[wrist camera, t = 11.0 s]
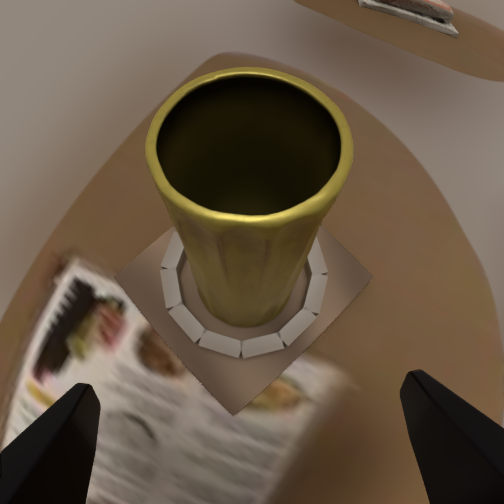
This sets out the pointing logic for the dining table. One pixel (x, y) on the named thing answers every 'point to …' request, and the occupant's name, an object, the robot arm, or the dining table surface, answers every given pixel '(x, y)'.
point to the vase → (248, 183)
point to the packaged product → (417, 12)
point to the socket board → (239, 338)
